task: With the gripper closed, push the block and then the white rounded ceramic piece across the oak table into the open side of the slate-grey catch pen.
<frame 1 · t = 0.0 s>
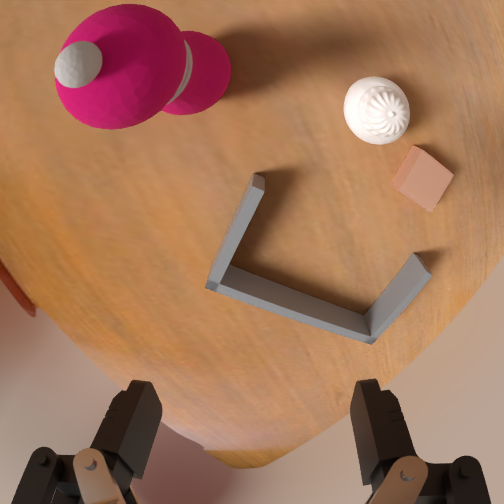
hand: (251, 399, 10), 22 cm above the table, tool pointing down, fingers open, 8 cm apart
block: (417, 175, 28), on the table
catch pen: (322, 261, 33), on the table
white rounded ceramic piece: (364, 107, 24), on the table
pepper mill: (198, 74, 24), on the table
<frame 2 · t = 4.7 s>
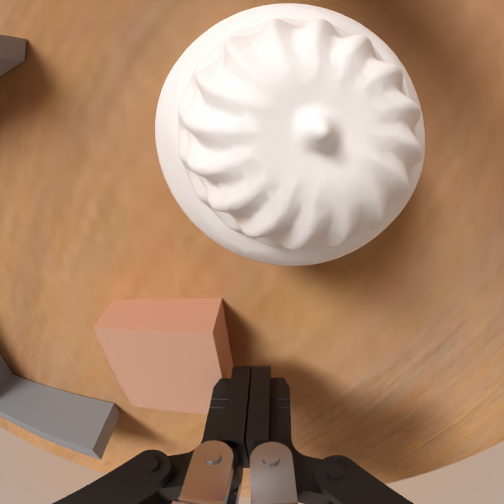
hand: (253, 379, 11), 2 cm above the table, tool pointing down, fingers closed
block: (178, 339, 13), on the table
white rounded ceramic piece: (285, 131, 9), on the table
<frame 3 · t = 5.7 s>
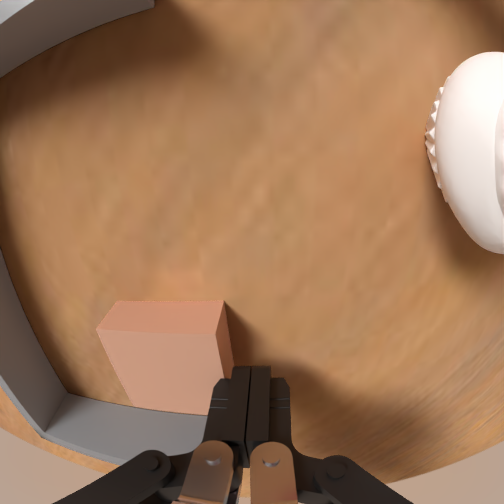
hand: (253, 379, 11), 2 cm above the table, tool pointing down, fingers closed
block: (180, 341, 13), on the table, touching gripper
catch pen: (63, 265, 12), on the table
white rounded ceramic piece: (454, 140, 9), on the table
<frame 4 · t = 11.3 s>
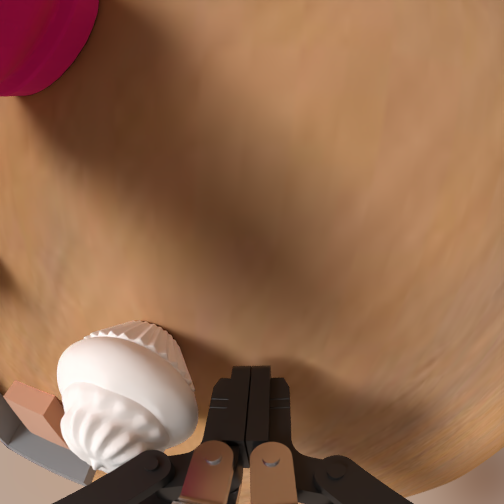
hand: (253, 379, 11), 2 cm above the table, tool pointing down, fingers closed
block: (47, 404, 18), on the table
catch pen: (0, 363, 16), on the table
white rounded ceramic piece: (150, 344, 13), on the table, touching gripper
pepper mill: (46, 31, 7), on the table
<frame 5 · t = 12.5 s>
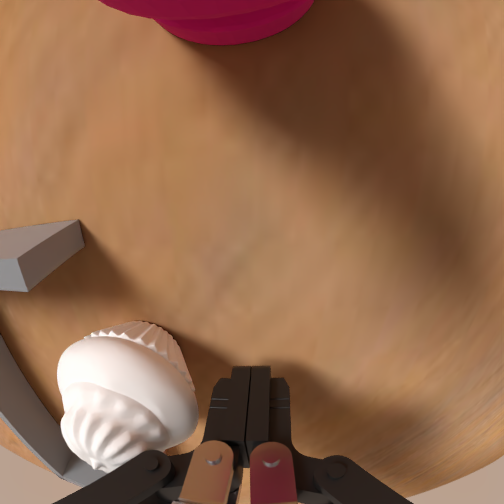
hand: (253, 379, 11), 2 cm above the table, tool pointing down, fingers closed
catch pen: (67, 387, 15), on the table
white rounded ceramic piece: (150, 344, 13), on the table, touching gripper, hand
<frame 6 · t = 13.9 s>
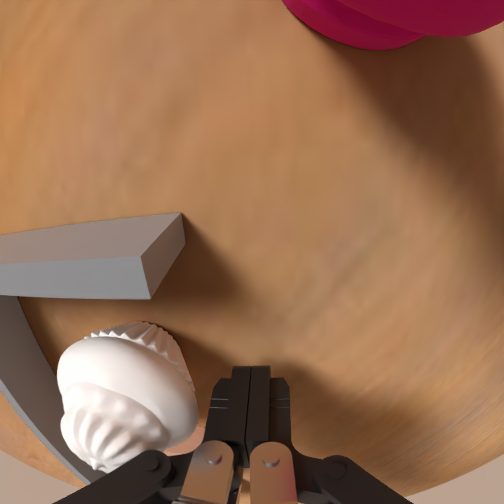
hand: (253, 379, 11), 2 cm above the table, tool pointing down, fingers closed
block: (191, 440, 17), on the table
catch pen: (125, 403, 15), on the table
white rounded ceramic piece: (150, 345, 13), on the table, touching gripper, hand
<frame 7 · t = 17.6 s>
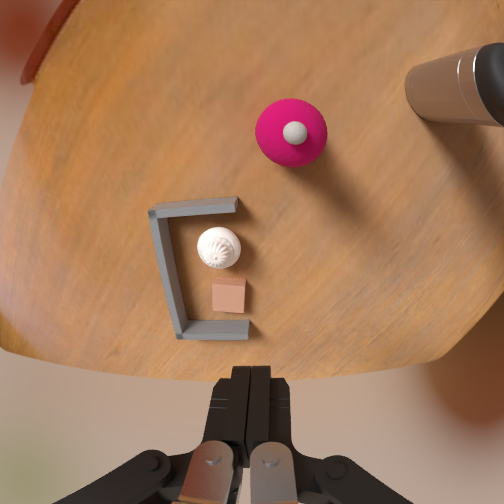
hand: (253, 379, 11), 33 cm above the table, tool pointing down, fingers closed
block: (230, 290, 48), on the table
catch pen: (206, 269, 47), on the table
white rounded ceramic piece: (222, 238, 45), on the table
pepper mill: (283, 131, 38), on the table
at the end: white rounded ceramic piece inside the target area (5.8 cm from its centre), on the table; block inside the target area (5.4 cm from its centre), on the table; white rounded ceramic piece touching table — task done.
